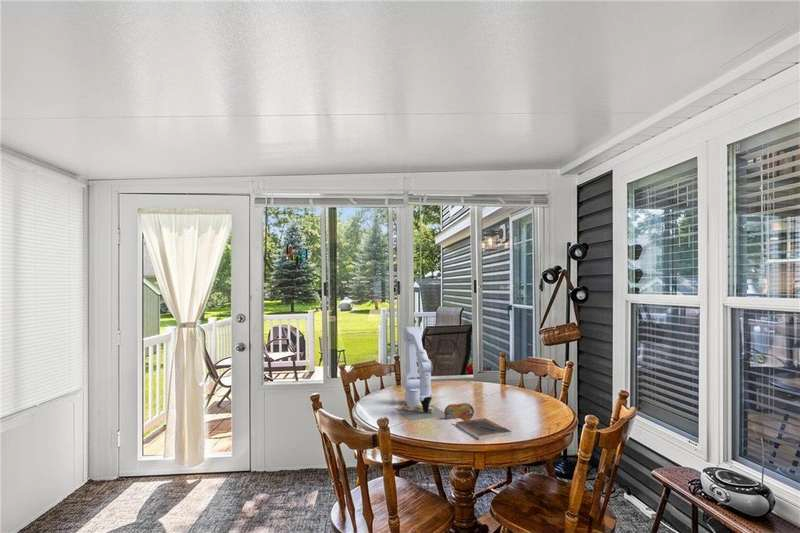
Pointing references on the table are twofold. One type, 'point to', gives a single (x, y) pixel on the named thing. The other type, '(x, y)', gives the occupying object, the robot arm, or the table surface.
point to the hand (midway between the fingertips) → (425, 411)
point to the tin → (459, 411)
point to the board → (421, 413)
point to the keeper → (416, 403)
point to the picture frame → (483, 428)
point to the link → (416, 408)
